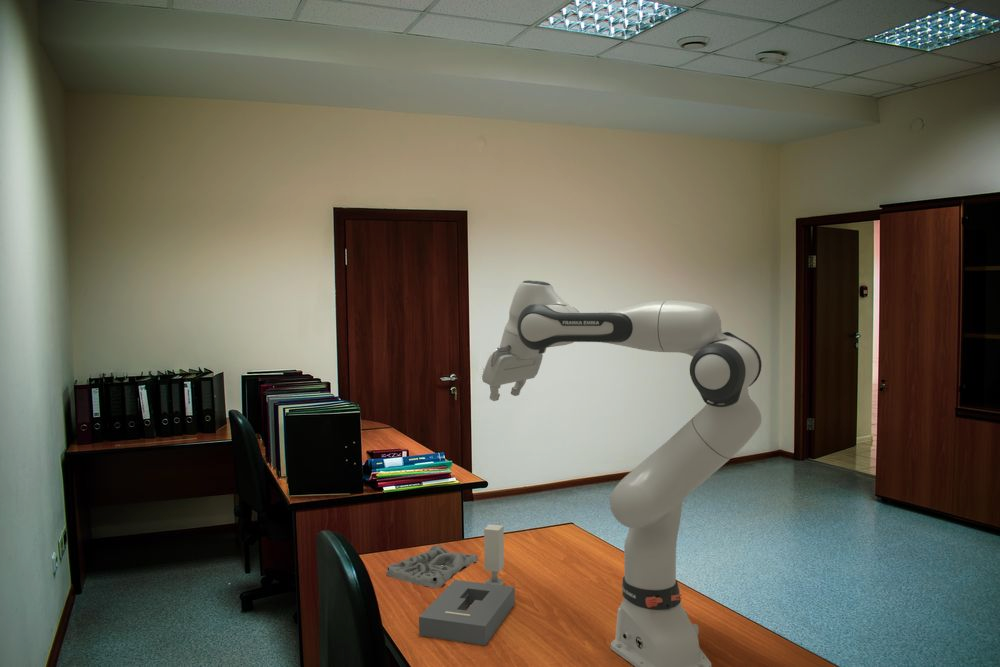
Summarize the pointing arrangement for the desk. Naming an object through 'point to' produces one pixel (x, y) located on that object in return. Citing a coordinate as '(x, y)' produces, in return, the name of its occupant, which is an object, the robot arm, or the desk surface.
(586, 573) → the desk surface
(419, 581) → the wall plaque
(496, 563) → the post
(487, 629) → the keyhole plate
